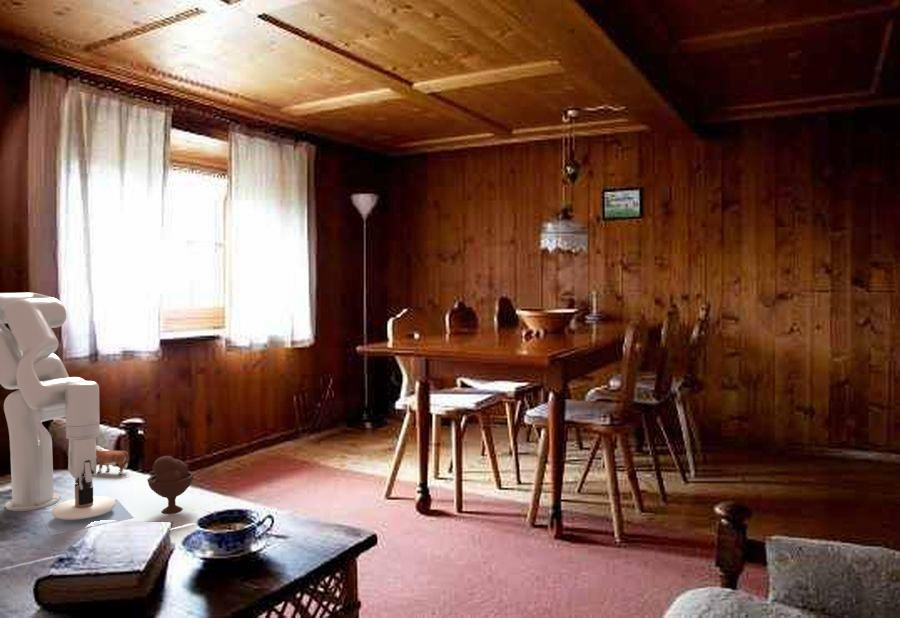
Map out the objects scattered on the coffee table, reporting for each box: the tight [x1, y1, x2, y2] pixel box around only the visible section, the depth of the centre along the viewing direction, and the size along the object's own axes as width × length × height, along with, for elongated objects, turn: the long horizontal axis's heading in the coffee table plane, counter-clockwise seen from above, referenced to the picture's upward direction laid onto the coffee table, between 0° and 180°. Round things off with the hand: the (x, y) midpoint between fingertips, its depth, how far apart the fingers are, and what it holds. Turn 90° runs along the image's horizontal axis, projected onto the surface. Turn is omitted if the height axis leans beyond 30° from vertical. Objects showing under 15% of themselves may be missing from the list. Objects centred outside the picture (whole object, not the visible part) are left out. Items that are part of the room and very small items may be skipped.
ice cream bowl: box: [147, 455, 195, 515], centre depth 169 cm, size 11×11×15 cm
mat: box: [39, 498, 134, 537], centre depth 166 cm, size 18×18×1 cm
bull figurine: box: [96, 445, 129, 475], centre depth 205 cm, size 4×13×8 cm, turn 73°
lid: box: [51, 485, 116, 520], centre depth 166 cm, size 14×14×6 cm
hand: (84, 500), depth 166 cm, fingers closed on lid, 4 cm apart
